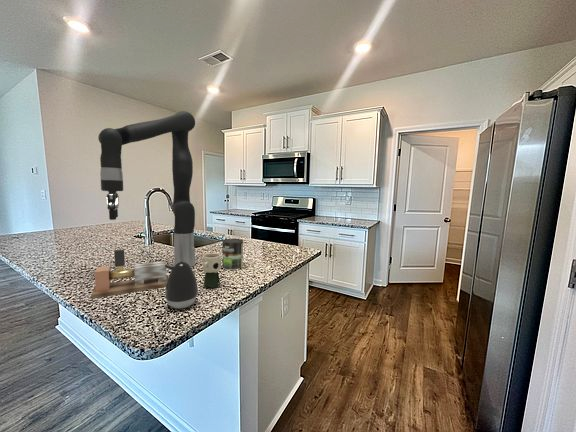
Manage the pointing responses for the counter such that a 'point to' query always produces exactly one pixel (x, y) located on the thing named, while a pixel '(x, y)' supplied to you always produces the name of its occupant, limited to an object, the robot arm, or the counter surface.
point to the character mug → (211, 269)
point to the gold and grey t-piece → (120, 267)
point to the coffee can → (232, 254)
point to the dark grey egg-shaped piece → (181, 286)
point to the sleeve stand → (138, 280)
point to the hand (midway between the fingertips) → (113, 218)
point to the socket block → (102, 278)
